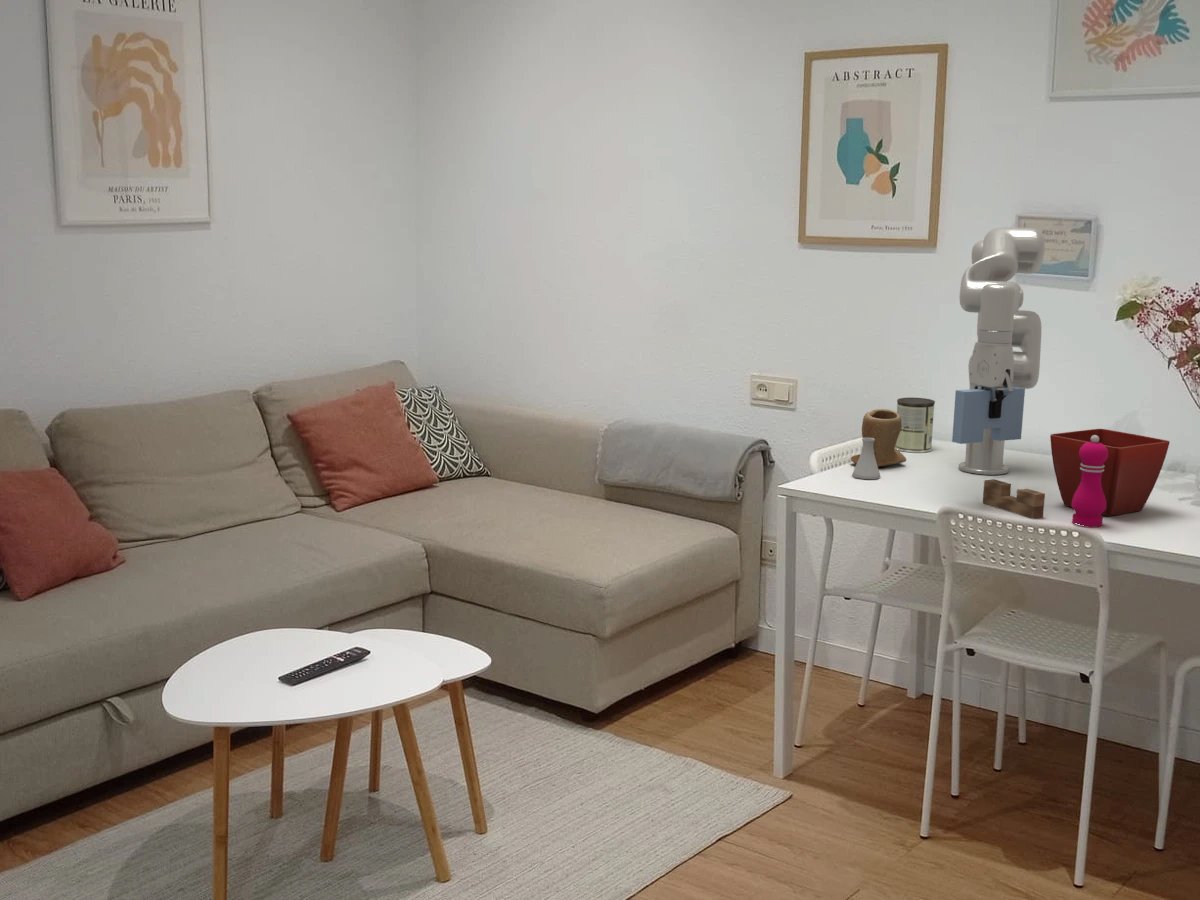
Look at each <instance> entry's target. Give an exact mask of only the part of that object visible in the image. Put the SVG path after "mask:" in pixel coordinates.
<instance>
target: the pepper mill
mask: <svg viewBox="0 0 1200 900" xmlns="http://www.w3.org/2000/svg"><path fill="white" fill-rule="evenodd" d="M1098 441H1099V437H1098V436H1097V435H1093V436H1092V437H1091V442H1087V443H1085V444H1083V445H1082V446H1081V448H1080V451H1079V457H1080V459H1081V460H1082V462H1083V463H1081V464H1080V465H1081V467H1080V469H1081V470H1082V477H1081V482H1080V485H1079V487H1078V489H1077V490H1076V492H1075V494H1074V496H1073V499H1072V504H1071V505H1072V507H1071V508H1072V510H1073V511H1074V512H1075V513H1074V514H1072V519H1071V522H1072V523H1073V524H1074V523H1077V524H1080V525H1084V526H1088V527H1087V528H1098V527H1102V526H1103V519H1104V518H1103V515H1102V513H1103V512H1104V511H1105V509H1106V499H1105V495H1104V493H1103V490H1102V485H1101V476H1102V472H1103V471H1104V467H1105V465H1103V463H1104V462H1105V461H1106V460H1107V458H1108V450H1107V448H1106V446H1105V445H1103V444H1101V443H1099V442H1098ZM1084 526H1083V527H1084Z"/></svg>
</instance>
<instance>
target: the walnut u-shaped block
mask: <svg viewBox="0 0 1200 900" xmlns="http://www.w3.org/2000/svg"><path fill="white" fill-rule="evenodd" d="M983 481H984V482H983V495H982V504H984V505H988V506H991V507H994V508H998V509H1000V510H1004V511H1007V512H1010V513H1014V514H1016V515H1020V516H1024V517H1026V518H1030V519H1032V518H1034V519H1041V518H1044V510H1045V509H1044V508H1045V499H1046V498H1045V497H1046V496H1045V495H1046V493H1044V492H1040V491H1037V490H1033V489H1030V488H1021V489H1019V488H1018V489H1017V490H1016V497H1015V496H1012V495H1011V489H1012V485H1011V483H1009V482H1005V481H1002V480H999V479H995V478H992V479H984V480H983Z"/></svg>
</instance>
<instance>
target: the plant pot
mask: <svg viewBox="0 0 1200 900" xmlns="http://www.w3.org/2000/svg"><path fill="white" fill-rule="evenodd" d="M1093 435H1097V436H1098V437H1099V441H1098V442H1099V443H1101V444H1103V445H1105V446H1106V448H1107V450H1108V458H1107V460H1106V461H1105V462H1104V463H1103V465H1105V467H1104V471H1103V472H1102V476H1101V485H1102V490H1103V493H1104V495H1105V499H1106V509H1105V511H1104V512H1103V513H1102V514H1101V516H1108V517H1111V516H1116V515H1123V514H1127V513H1129V514H1130V513H1135V512H1141V511H1142V510H1143V508H1144V507H1145V505H1146V503H1147V501H1148V500H1149V498H1150V495H1151V494H1152V492H1153V489H1154V488H1155V485H1156V483H1157V480H1158V478H1159V477H1160V473H1161V471H1162V468H1163V465H1164V462H1165V460H1166V456H1167V453H1168V449H1169V446H1170V440H1168V439H1167V440H1166V439H1162V438H1156V437H1151V436H1146V435H1140V434H1136V433H1135V434H1134V433H1130V432H1128V433H1127V432H1122V431H1117V430H1112V429H1106V428H1093V429H1084V430H1074V431H1066V432H1059V433H1058V432H1057V433H1051V434H1050V437H1049V438H1050V448H1051V456H1052V457H1051V458H1052V463H1053V470H1054V474H1055V477H1056V478H1055V479H1056V483H1057V487H1058V490H1059V493H1060V497H1061V500H1062V502H1063V505H1064V506H1066V507H1069V508H1072V505H1071V504H1072V499H1073V496H1074V494H1075V492H1076V490H1077V489H1078V487H1079V485H1080V482H1081V477H1082V470H1081V469H1080V467H1081V465H1080V464H1081V463H1083V462H1082V460H1081V459H1080V457H1079V451H1080V448H1081V446H1082V445H1083V444H1085V443H1087V442H1091V437H1092V436H1093Z"/></svg>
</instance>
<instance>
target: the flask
mask: <svg viewBox="0 0 1200 900" xmlns="http://www.w3.org/2000/svg"><path fill="white" fill-rule="evenodd" d="M861 441H862V447H861V452H860V454H861V455H860V454H859V455H860V457H859V460H858V462H857V464H856V463H855V467H854V470H853V471H852V473H851V476H853V477H854V478H855V479H863V480H878V479H880V478H882V477H881V473H880V469H879V467H878V466H877V463H876V459H875V455H874V449H873V443H874V441H875V439H874V438H863V437H862V438H861Z"/></svg>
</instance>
